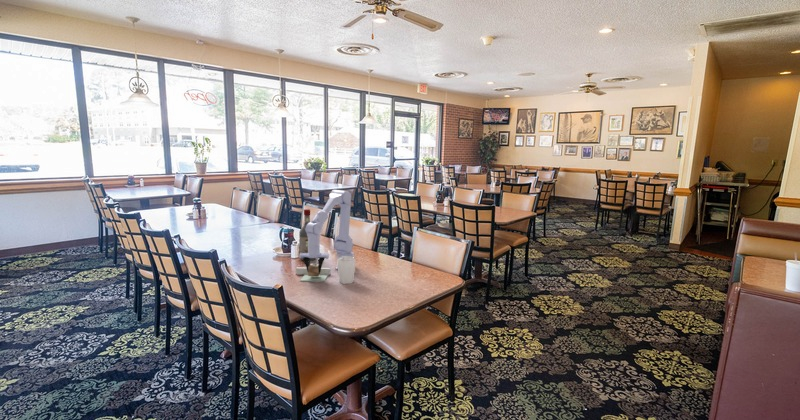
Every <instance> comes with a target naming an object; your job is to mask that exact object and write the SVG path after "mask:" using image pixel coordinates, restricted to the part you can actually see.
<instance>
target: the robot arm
mask: <svg viewBox="0 0 800 420" xmlns="http://www.w3.org/2000/svg"><path fill="white" fill-rule="evenodd" d="M351 204H352V194H351V192H350V191H349V190H342V189H332V190H331V192H330V193H329V198H328V200H327V202H326V203H325V205H324V207H323V209H321V210H319V211H317V212H316V214H315V216H314V218H312V220H310V223H308V224H307V225H306V228H305V231H306V233H307V236H308V253H303V254H300V253H299V254H298V258H299V259H300V258H304V259H303V261H302V262H303V263H304V265H305V268H307V271H308V266H309V265H310V264H311V263H310V262H311V260H310V258H316V259H317V264H319V272H321V268H323V267H322V266H323V263H324V261H325V259H326V260H327V259H329V258H330V257H329V256H330V254H329V253H321V252H320V251H321V250H320V248H321V247H320V246H321V245H320V234H321V233H322V230H323V227H324V224H325V222H326V221H327V220H328V218H329V213H330V212H331V211H332V210H333V208H334V207H335V206H337V205H338V206H339V207H340V211H339V226H338V227H339V229H338V234H337V236H336V237H335V238H334V243H333V249H334V250H335V252H336V263H337V262H338V258H339V257H344V256H350V257H354V258H355V252H352V251H353V249H354V245H353V244H354V243H353V238H352V237H351V236H350V235H349V234H350V224H351V223H350V222H351V221H350V220H351V206H352V205H351ZM335 270H338V266H337V265H336V267H335Z"/></svg>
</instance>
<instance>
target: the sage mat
mask: <svg viewBox="0 0 800 420" xmlns="http://www.w3.org/2000/svg"><path fill="white" fill-rule="evenodd" d="M328 276H329V275H319V276H308V275H303V276H302V277H301V279H300V280H299V282H312V283H325V281H326V280H327V278H328Z"/></svg>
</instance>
